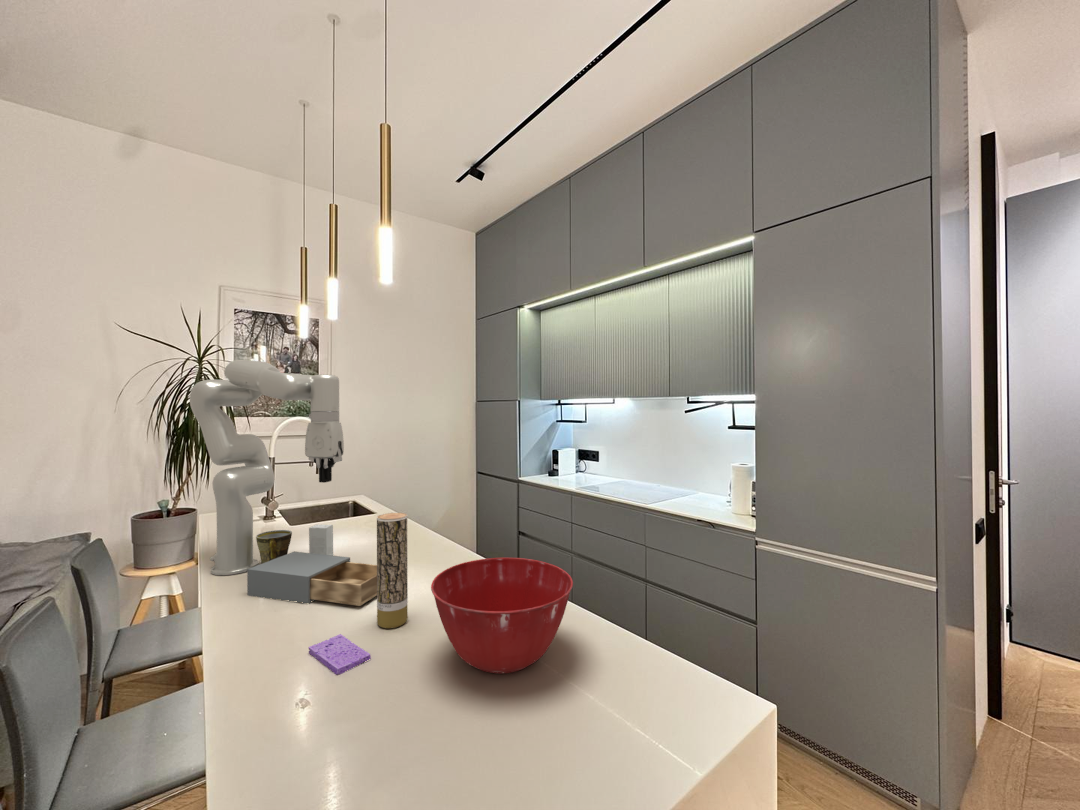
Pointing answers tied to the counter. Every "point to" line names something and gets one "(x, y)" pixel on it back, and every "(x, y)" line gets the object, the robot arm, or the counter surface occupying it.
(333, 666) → the sponges
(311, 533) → the skincare box
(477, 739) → the counter surface
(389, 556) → the paper tube
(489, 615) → the mixing bowl
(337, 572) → the tray
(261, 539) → the ceramic cup
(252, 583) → the sleeve
